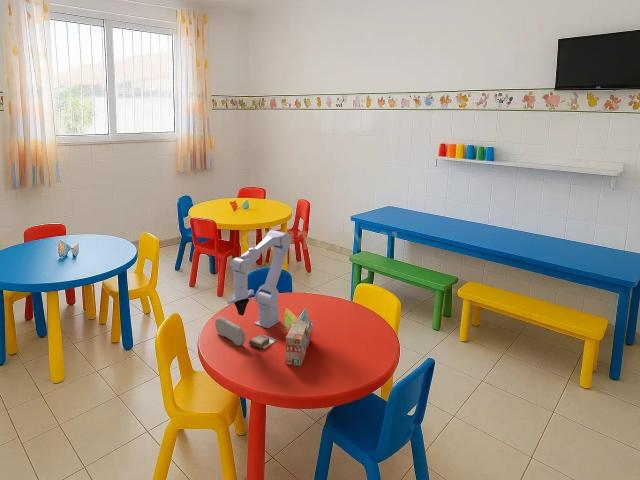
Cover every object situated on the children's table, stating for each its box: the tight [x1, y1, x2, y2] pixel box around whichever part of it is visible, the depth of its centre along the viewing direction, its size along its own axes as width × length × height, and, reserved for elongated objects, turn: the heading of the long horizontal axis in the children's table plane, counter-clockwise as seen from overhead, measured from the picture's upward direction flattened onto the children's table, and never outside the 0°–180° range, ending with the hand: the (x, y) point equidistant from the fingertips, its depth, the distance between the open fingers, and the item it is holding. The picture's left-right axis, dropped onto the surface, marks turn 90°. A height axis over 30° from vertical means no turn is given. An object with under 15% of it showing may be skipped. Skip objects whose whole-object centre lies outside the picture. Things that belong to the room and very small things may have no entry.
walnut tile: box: [248, 334, 269, 349], centre depth 197 cm, size 2×6×6 cm
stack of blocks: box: [285, 319, 311, 367], centre depth 191 cm, size 21×6×12 cm, turn 171°
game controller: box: [214, 316, 246, 347], centre depth 200 cm, size 20×2×8 cm, turn 46°
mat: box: [260, 334, 277, 349], centre depth 199 cm, size 8×8×1 cm
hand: (241, 314), depth 201 cm, fingers closed
